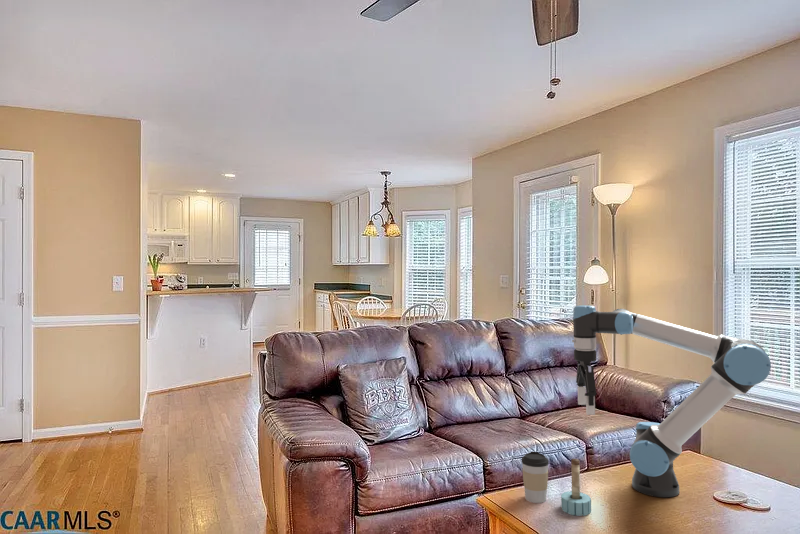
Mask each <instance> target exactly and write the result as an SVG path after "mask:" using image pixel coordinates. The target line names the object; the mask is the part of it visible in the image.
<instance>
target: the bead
mask: <svg viewBox="0 0 800 534" xmlns="http://www.w3.org/2000/svg"><path fill="white" fill-rule="evenodd" d="M560 497H561V498H560V501H561V507H562V508H561V510H562V511H563V512H564V513H566V514H569V515H571V516H578V517H581V516H588V515H590V514H591V513H592V498H591V496H590V495H589V494H588V493H587V494H586V493H585V492H581V491H580V500H575V499H572V490H570V491H569V490H568V491H564V492H562V493H561V495H560Z"/></svg>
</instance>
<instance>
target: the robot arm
mask: <svg viewBox="0 0 800 534" xmlns="http://www.w3.org/2000/svg"><path fill="white" fill-rule="evenodd" d="M572 322H573V323H572V325H573V326H572V327H573V328H572V329H573V339H572V340H571V343H573V348H574V349H573V360H575V362H577V368H576V379H575V383H576V385H577V405H578V406H580V405H581V406H586V407H585V413H586V414H585V415H587V416H596V396H597V389H596V388H597V387H596V380H595V373H594V366H593V365H591V362H592V363H593V362H595V361H597V351H596V349H597V334H610V335H612V334H613V335H635V336H638V337H641V338H644V339H648V340H651V341H655V342H657V343H660V344H664V345H667V346H671V347H674V348H677V349H680V350H683V351H686V352H690V353H694V354H696V355H701V356H703V357H707V358H709V359H710V360H711V361H712V362H713V364H712V365H711V366H710V369H711V372H710V373H711V374H710V375H708V377H707V378H706V379H705V380H703V381H702V383H701V384H699V385H698V387H696V388H695V389H694V390H693V392H691V393H690V394H689V395H688V396H687V397H686V398H685V399H684V400H683V401H682V402H681V403H680V404H678V406H677V407H676V408H674V410H673V411H671V413H670V414H669V415H668V416H667V417H666V418H665V419H663V421H661V423H659V422H653V421H639V422H637V423H636V427H635V431H636V432H635V433H636V435H635V438H634V441H633V443H632V444H631V446H630V447H629V460H630V462H631V465H632V466H633V467H634V468H635V470H634V473H633V474H632V478H631V486H632V488H633V489H634V490H635V491H637V492H638V493H640V494H641V493H642V494H644V495H647V496H651V497H657V498H672V497H676V496H678V495H680V484H679V481H678V478H677V476H676V472H675V470H674V461H675V460H676V459H677V458H678V457H679V456H680V455H682V453H683V449H682V445H684V444H685V443H686V442H687V441H688V440H689V439H690V438H691V437H692V436H693V435H694V434H695V433H697V432H698V431H699V430H700V429H701V428H702V427H703V426H704V425H705V424H707V422H708V421H709V420H711V419H712V418H713V417H714V416H715V414H717V413H718V412H719V411H720V410H721V409H722V408H723V407H724V406H725V405H726V404H728V402H730V401H731V400H732V398H734V397H735V396H736V395H745V394H747V393H748V391H750V390H751V389H752V388H753V387H754V386H756V385H758V384H761V383H763V382H764V381H765V380H766V379H767V377H768V376H769V375H770V372H771V368H772V365H771V364H772V363H771V359H770V358H769V355H768V354H767V352H766V351H765V349H764V348H763V347H762V346H761V345H760V344H758V343H757V342H755V341H752V340H749V339H744V338H737V337H733V336H728V335H724V334H719V335H713V334H709V333H706V332H702V331H700V330H696V329H692V328H690V327H685V326H682V325H678V324H674V323H671V322H667V321H664V320H660V319H657V318H653V317H649V316H646V315H642V314H638V313H635V312H632V311H629V310H628V309H625V308H617V309H615V310H613V311H598V310H596V306H594V305H586V304H585V305H576V306H574V307H573V314H572Z"/></svg>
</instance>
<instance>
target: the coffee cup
mask: <svg viewBox="0 0 800 534" xmlns="http://www.w3.org/2000/svg"><path fill="white" fill-rule="evenodd" d="M521 464H522V465H521V466H522V469H521V470H522V480H523V489H524V495H525V498H524V499H525V500H526V501H528V502H529V503H534V504H542V502H543V503H545V502H546V501H547V493H548V490H547V489H548V481H549V464H550V463H549V459H548V458H547V457H546V456H545V455H544V454H541V453H540V452H538V451H530V452H528V453H525V454H524V455H523V456H522V457H521Z"/></svg>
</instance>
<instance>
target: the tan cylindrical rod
mask: <svg viewBox="0 0 800 534" xmlns="http://www.w3.org/2000/svg"><path fill="white" fill-rule="evenodd" d="M570 461H571V462H570V463H571V464H570V465H571V491H572V499H575V500H580V492H581V491H580V489H581V487H580V486H581V483H580V482H581V478H580V477H581V475H580V473H581V472H580V471H581V470H580V469H581V468H580V459H578V458H571V460H570Z"/></svg>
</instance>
